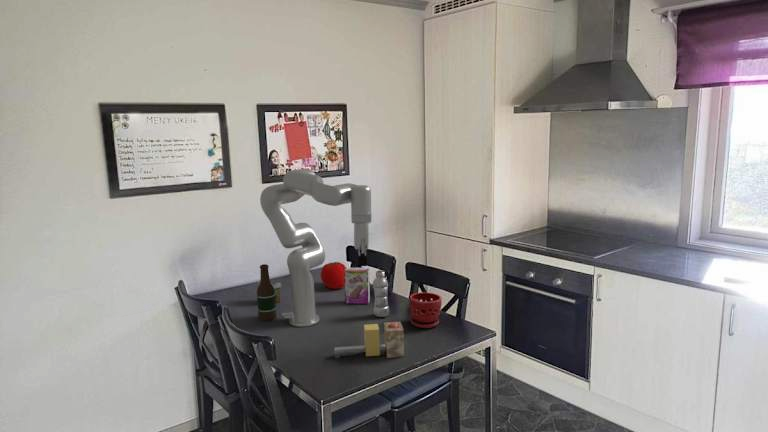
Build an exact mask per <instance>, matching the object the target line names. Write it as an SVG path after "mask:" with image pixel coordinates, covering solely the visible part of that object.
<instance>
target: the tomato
mask: <svg viewBox="0 0 768 432" xmlns="http://www.w3.org/2000/svg"><path fill="white" fill-rule="evenodd" d="M346 268H347V267H346V265H345V264H344V263H342V262H339V261H333V262H328V263H326V264H324V265H323V267H322V268H321V270H320V271H321V272H320V278H321V281H322V283H323V284H324V285H325V287H327V288H329V289H332V290H338V289H343V288H345V275H344V270H345V269H346Z"/></svg>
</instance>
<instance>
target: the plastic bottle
mask: <svg viewBox="0 0 768 432" xmlns="http://www.w3.org/2000/svg"><path fill="white" fill-rule="evenodd" d="M375 276H376V277H375V278H374V280H373V281H372V287H373V293H374V306H373V313H374V316H376V317H377V318H386V317H388V315H389V314H390V306H389V302H388V290H389V282H388V279H387V278H386V277H385V276H386V273H385V270H381V269H380V270H376V271H375Z"/></svg>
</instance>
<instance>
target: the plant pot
mask: <svg viewBox="0 0 768 432" xmlns="http://www.w3.org/2000/svg"><path fill="white" fill-rule="evenodd" d="M442 300H443V299H442V296H441V295H439V294H437V293H433V292H425V291H424V292H423V291H422V292H416V293H412V294H410V296H409V302H408V303H409V312H410V315H411V319H410V323H411V324H412V326H415V327H417V328H421V329H430V328H434V327H437V325H438V324H439V323H440V320H439V316H440V314H441V310H442V303H443V301H442Z"/></svg>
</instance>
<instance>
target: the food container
mask: <svg viewBox="0 0 768 432" xmlns="http://www.w3.org/2000/svg"><path fill="white" fill-rule="evenodd" d="M260 280H261V279H260ZM260 280H258V282H257V286H256V287H257V288H258V286H259V285H260ZM270 283H271V284H272V286H273V287H274V290H275V298H276V305H277V304H279V303H281V288H282V283H281V282H277V283H275V282H272V281H270Z"/></svg>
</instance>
